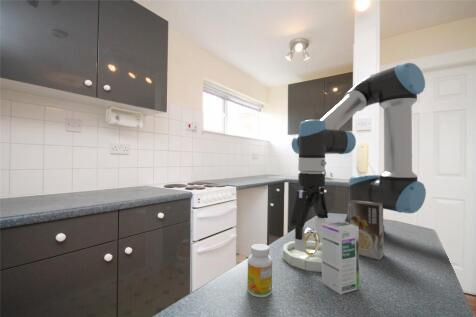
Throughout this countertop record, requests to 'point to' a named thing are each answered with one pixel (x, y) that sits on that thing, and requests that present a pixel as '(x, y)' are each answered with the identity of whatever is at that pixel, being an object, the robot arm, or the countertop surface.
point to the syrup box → (340, 256)
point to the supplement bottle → (259, 271)
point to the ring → (315, 240)
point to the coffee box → (368, 226)
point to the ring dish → (303, 256)
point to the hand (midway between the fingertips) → (310, 244)
